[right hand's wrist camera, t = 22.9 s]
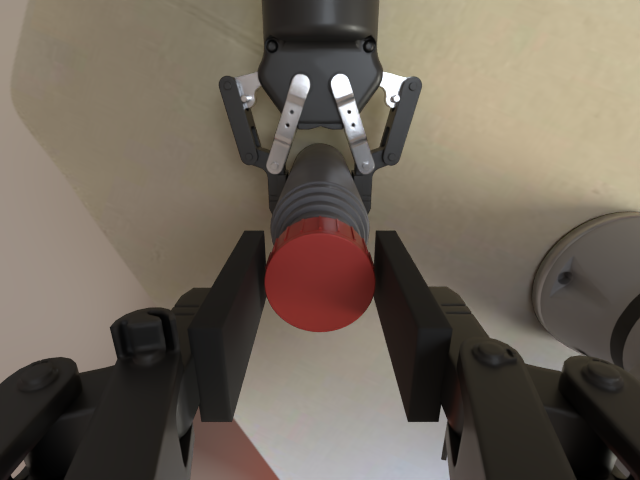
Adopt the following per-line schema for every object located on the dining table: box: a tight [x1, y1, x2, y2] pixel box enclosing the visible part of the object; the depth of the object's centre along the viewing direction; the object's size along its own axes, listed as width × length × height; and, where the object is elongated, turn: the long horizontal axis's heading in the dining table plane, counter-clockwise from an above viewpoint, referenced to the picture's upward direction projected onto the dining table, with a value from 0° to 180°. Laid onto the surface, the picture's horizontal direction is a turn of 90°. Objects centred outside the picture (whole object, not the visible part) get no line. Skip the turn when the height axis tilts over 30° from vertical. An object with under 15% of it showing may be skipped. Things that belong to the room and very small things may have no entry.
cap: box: [264, 216, 375, 332], centre depth 14 cm, size 4×4×2 cm
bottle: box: [271, 144, 369, 245], centre depth 24 cm, size 5×5×22 cm
